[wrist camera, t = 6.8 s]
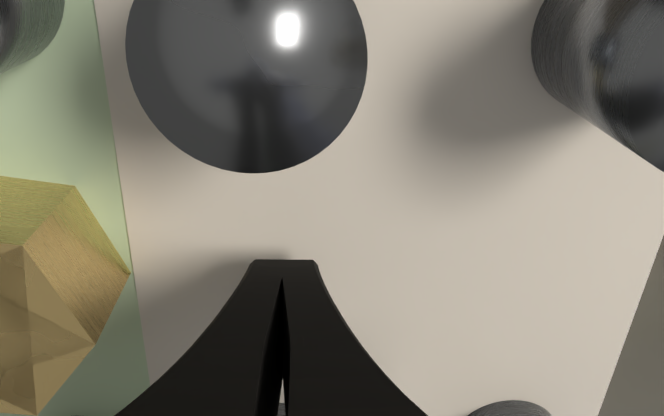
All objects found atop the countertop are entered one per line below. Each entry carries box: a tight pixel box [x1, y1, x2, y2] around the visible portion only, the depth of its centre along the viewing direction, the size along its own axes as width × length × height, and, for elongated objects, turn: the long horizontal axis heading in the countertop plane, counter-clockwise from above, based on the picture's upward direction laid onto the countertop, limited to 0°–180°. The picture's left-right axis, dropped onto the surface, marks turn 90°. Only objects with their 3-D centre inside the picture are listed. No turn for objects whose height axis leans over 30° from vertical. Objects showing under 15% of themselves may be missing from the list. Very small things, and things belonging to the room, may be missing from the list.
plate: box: [0, 0, 664, 416], centre depth 13 cm, size 15×16×1 cm
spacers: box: [0, 0, 664, 416], centre depth 11 cm, size 15×14×4 cm
